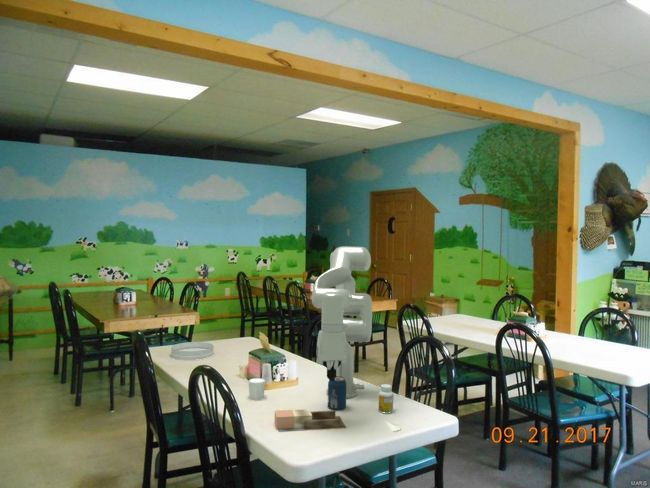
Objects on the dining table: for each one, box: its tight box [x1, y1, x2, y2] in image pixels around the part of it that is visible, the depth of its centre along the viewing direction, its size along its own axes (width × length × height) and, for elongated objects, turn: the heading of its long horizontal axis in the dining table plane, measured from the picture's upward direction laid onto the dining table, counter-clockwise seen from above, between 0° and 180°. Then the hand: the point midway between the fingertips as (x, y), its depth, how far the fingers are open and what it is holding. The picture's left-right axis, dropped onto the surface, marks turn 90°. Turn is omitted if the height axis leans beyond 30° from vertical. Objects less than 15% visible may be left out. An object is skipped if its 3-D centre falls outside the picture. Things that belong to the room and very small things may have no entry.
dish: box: [170, 341, 215, 361], centre depth 265 cm, size 22×22×5 cm
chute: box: [277, 410, 347, 433], centre depth 170 cm, size 23×11×4 cm, turn 101°
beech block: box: [291, 408, 312, 428], centre depth 169 cm, size 6×6×4 cm
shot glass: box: [248, 377, 266, 401], centre depth 199 cm, size 7×7×7 cm
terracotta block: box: [274, 409, 295, 430], centre depth 168 cm, size 6×6×4 cm
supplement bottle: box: [378, 383, 394, 414], centre depth 186 cm, size 5×5×10 cm
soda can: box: [327, 376, 347, 411], centre depth 187 cm, size 7×7×12 cm
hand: (331, 379), depth 172 cm, fingers closed
